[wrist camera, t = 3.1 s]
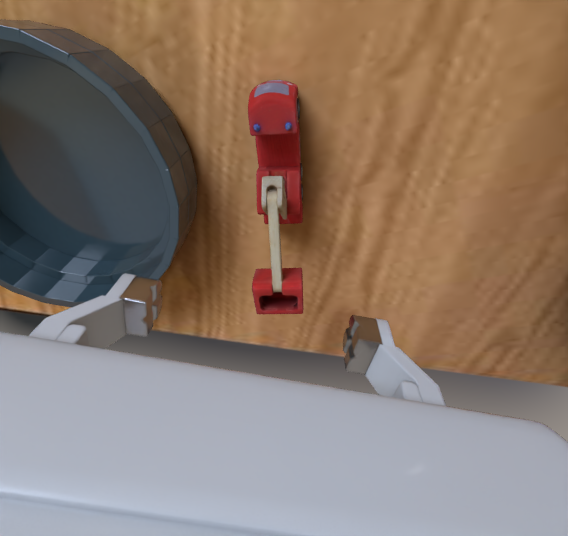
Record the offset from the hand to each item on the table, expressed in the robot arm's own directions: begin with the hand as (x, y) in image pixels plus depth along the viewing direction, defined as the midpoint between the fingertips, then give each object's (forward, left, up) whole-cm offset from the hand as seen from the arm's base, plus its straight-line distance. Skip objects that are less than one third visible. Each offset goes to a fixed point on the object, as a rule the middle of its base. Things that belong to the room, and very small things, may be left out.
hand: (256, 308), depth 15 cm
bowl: (+3, -17, -16) cm, 23 cm away
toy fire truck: (0, 0, -16) cm, 16 cm away
